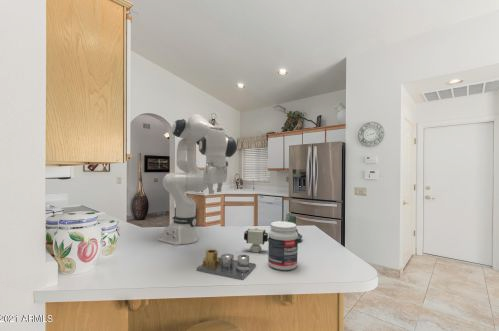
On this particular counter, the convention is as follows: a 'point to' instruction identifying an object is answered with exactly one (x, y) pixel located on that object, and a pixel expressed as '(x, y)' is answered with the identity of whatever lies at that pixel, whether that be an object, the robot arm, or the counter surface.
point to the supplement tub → (283, 245)
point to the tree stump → (293, 220)
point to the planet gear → (211, 258)
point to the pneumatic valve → (255, 238)
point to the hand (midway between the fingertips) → (215, 193)
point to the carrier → (230, 267)
